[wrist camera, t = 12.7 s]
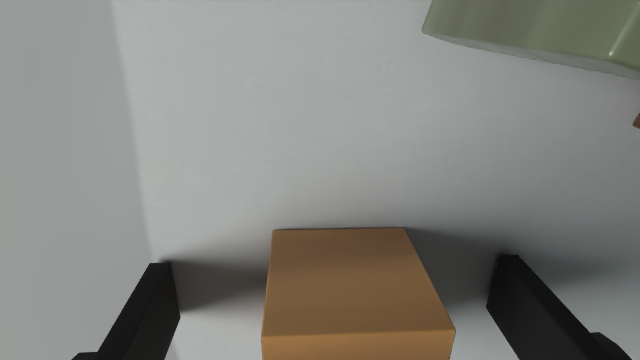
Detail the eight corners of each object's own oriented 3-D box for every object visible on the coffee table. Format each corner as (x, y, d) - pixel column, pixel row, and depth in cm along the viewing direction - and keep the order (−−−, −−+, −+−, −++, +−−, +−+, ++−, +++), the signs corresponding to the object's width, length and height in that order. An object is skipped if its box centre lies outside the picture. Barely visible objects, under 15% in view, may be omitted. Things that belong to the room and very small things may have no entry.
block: (272, 229, 14) (260, 337, 9) (404, 227, 14) (457, 330, 9) (276, 329, 16) (269, 458, 11) (392, 325, 16) (429, 448, 11)
